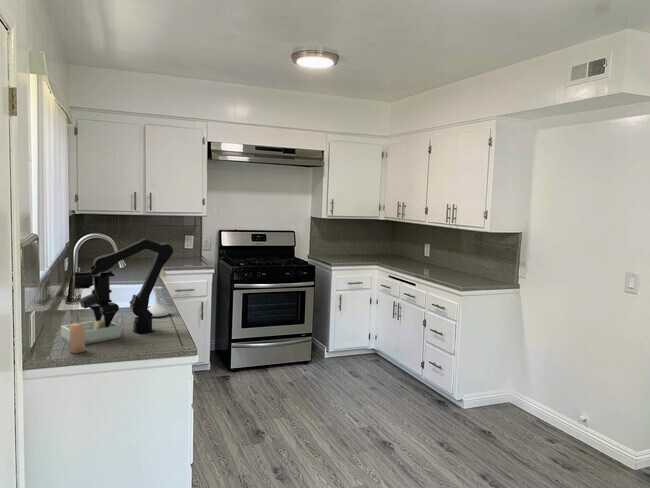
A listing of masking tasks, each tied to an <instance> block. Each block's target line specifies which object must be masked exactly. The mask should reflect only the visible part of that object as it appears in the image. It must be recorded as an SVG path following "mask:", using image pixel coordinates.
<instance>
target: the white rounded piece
mask: <svg viewBox="0 0 650 488" xmlns="http://www.w3.org/2000/svg"><path fill="white" fill-rule="evenodd" d="M166 274H167V273H166V271H165V269H164V267H162V269H161V272H160V274H159V276H160V277H163V278H165V277H167V275H166ZM160 283H162V280H160V281H159V282H156V283H155V285H156V286H154V287H153V289H152V291H154V303H152V305H151V306H148V308H147V309H148V310H149V311H150V312H151V313H152V314H153V315H152V318H153V317H155V318H156V317H157V318H158V317H159V318H160V317H164V316H169V314H170V313H171V310H170V309H169V308H168V307H167V306H166V305H164V304H163V303H162V302H161V292H162V290H163V289H164V286H158V284H160Z"/></svg>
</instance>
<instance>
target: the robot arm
mask: <svg viewBox="0 0 650 488" xmlns="http://www.w3.org/2000/svg"><path fill="white" fill-rule="evenodd" d="M144 250H148V251H151V252H154V255H153V256H154V257H153V262H152V264H151V266H150V267H149V268H150V269H149V271H148V273H147V275H146V278H145V279H144V282H143V283H142V286H141V288H140V291H139V292H138V293H137V294H133V295H132V298H131V300H130V301H129V304H130V305H129V309H130V310H131V312H132V313H133V314H134V315H135V316H136V317H134V321H133V330H132V331H133V332H135V333H137V334H139V335H142V334H147V333H153V332H154V331H155V330H154V329H153V317H152V315H153V314H152V313H151V312H150V311H149V310H148V308H149V304H150V303H149V302H150V295H151V294H152V291H153V287H155V285H156V284H157V280H158V277H159V276H160V272H161V269H162V268H164V266H165V265H166V263H168V261H169V259H170V258H171V257H172V255H173V253H174V248H173V247H172V245H170V244H169V243H166V242H161V243H159V242H155V241H153V240H149V239H147V238H141V239H140V240H139V241H136V242H134V243H133V244H130V245H128V246H126V247H123V248H121V249H118V250H117V251H115V252H112V253H107V254H106V253H105V254H103V255H99V256H97V257H95V258H94V260H93V264H92V266H90V268H89V269H88V271H74V272H73V280H72V283H73V289H74V290H82V289H84V290H85V289H90V288H91V287H92V286H93V289H92V291H91V293H90V294H88V295H86V296H83V297H81V298H79V299H78V303H79V304H80V307H81V308H82V309H88V308H89V309H90V310H92V313H93V315H94V318H95V321H99V320H102V317H103V319H104V322H105V327H109V325H110V323H111V321H112V322H113V319H114V317H115V316H116V314H117V313H118V312H119V311H120V305H118V303H115V302H113V300H112V299H111V295H110V294H111V293H113V292H112V289H110V288H111V287H110V284H111V283H110V280H111V279H110V278H111V277H115V276H116V274H115V273H114V272H112V270H111V268H114V266H115V265H116V264H118V263H119V262H121V261H124V260H125V259H127V258H129V257H131V256H134V255H136V254H138V253H140V252H142V251H144Z"/></svg>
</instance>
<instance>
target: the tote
mask: <svg viewBox="0 0 650 488" xmlns="http://www.w3.org/2000/svg"><path fill="white" fill-rule="evenodd" d="M102 320H104V318H103V319H102ZM94 321H95V320H92V321H91V320H90V321H84V322H82V323H84V324H85V345H89V344H93V343H100V342H105V341H111V340H116V339H121V338H122V337H121V336H122V335H121V334H122V331H121V329H122V328H121V327H122V326H121V325H120V324H118V323H116V322H114V321H113V320H112V321H111V327H106V328H100V329H94ZM69 325H70V324H65V325H60V338H61V340H63V341H65V342H66V343H68V344H69V345H70V329H69Z"/></svg>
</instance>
